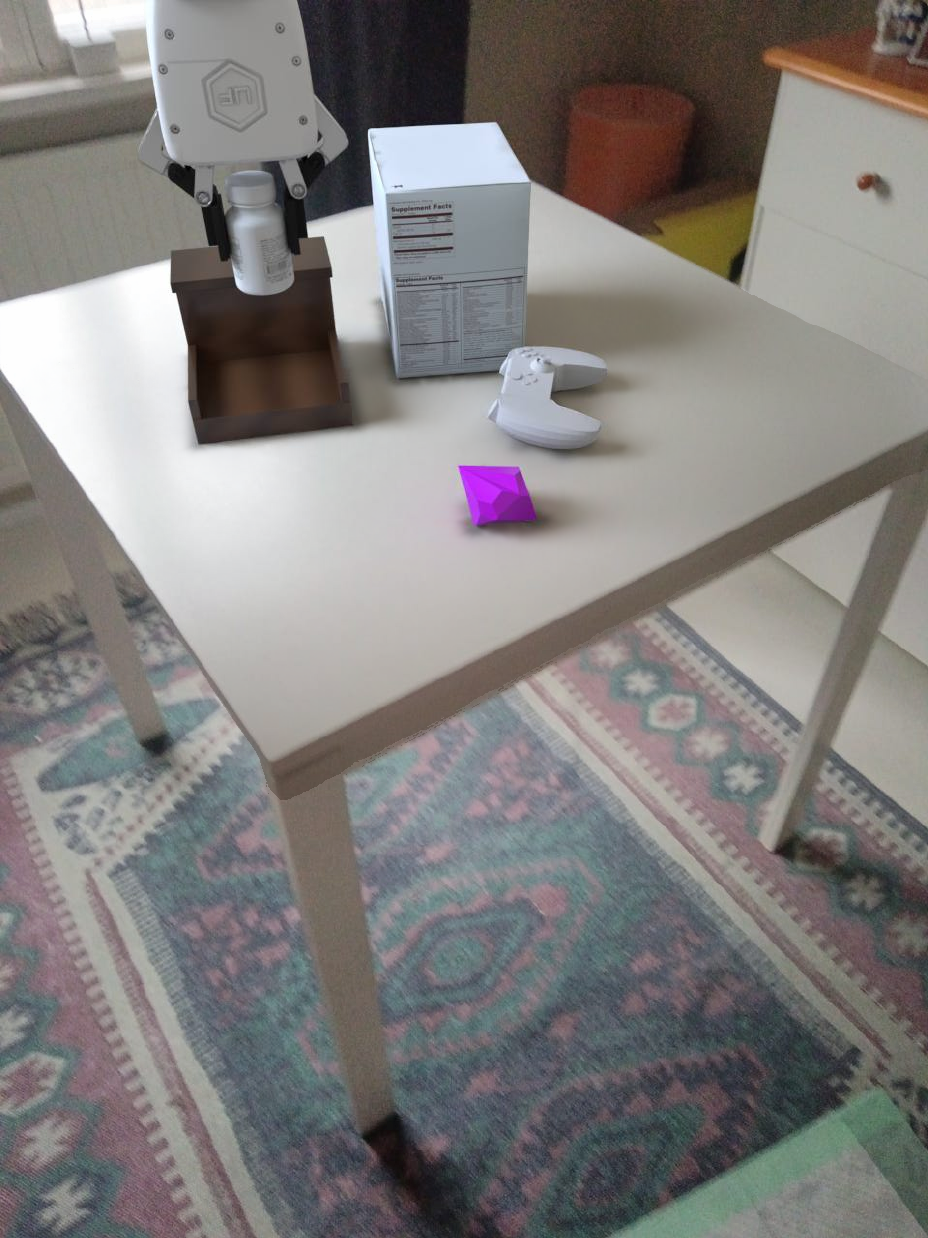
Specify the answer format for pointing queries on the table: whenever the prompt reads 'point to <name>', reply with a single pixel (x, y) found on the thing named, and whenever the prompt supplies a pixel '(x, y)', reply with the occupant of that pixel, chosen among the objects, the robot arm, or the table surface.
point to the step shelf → (260, 348)
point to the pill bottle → (257, 234)
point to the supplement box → (450, 245)
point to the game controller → (546, 396)
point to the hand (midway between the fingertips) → (260, 248)
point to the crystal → (496, 494)
